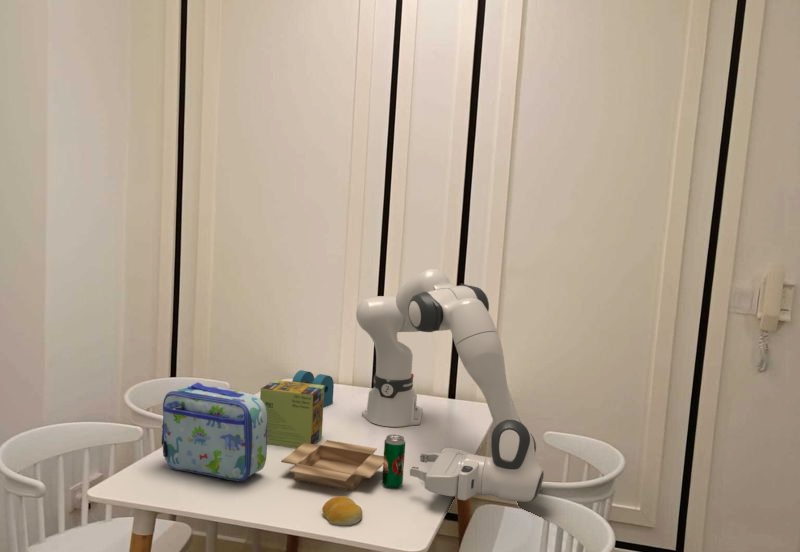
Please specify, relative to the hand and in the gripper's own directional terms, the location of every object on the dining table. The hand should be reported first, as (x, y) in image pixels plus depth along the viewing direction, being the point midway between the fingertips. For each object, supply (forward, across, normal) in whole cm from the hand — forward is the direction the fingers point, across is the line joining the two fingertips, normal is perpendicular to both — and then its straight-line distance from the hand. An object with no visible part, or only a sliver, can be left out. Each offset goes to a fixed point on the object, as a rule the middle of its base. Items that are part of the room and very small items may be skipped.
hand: (415, 463), depth 174 cm
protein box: (+40, -17, +7) cm, 44 cm away
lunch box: (+48, +11, +7) cm, 50 cm away
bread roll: (+11, +21, +6) cm, 24 cm away
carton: (+20, 0, +6) cm, 21 cm away
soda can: (+5, 0, +6) cm, 8 cm away
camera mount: (+49, -46, +7) cm, 68 cm away
